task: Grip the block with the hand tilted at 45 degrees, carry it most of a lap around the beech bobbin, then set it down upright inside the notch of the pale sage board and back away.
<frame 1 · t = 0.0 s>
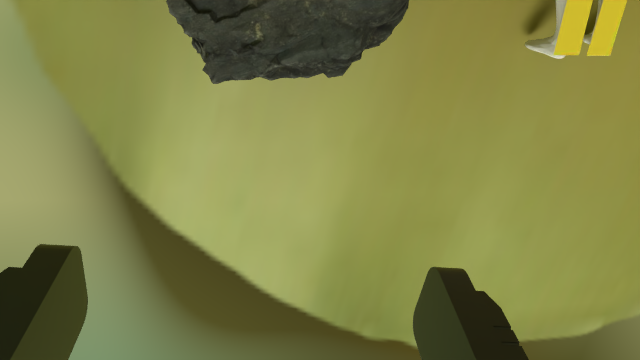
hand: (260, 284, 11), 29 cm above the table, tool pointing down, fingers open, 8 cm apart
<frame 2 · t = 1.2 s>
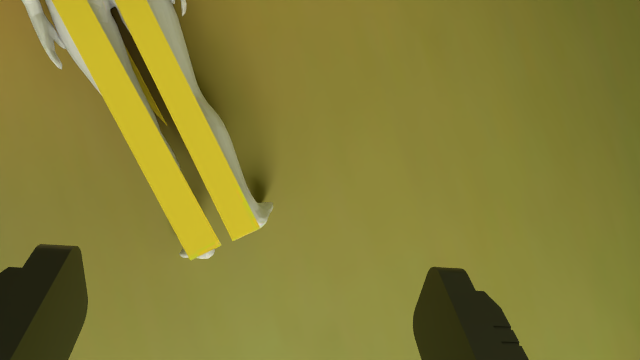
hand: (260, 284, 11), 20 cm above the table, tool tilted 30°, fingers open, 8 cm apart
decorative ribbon: (112, 11, 28), on the table
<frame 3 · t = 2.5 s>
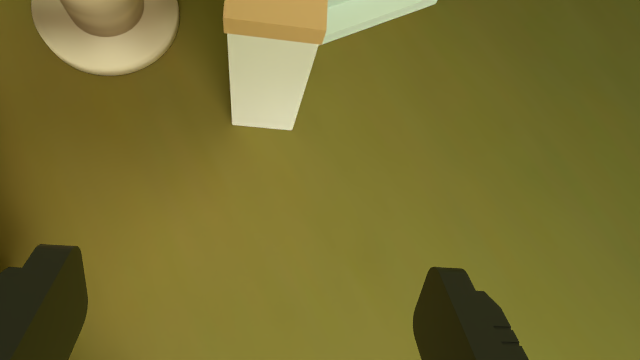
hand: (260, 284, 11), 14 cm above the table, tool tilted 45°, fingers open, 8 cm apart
bobbin: (111, 14, 27), on the table
block: (264, 99, 27), on the table
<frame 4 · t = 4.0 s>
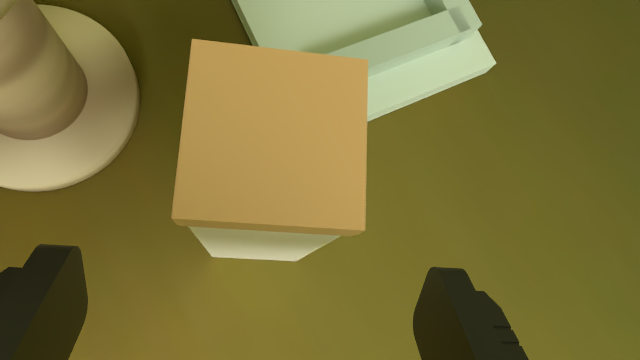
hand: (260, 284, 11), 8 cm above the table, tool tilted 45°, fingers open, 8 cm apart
bobbin: (43, 101, 19), on the table
block: (257, 218, 20), on the table
ridged board: (342, 0, 23), on the table
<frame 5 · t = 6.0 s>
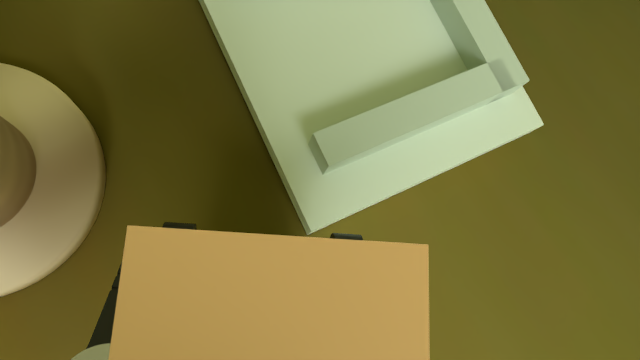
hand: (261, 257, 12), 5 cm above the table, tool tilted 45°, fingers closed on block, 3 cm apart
block: (251, 327, 16), on the table, touching gripper
ridged board: (356, 45, 19), on the table
when the fingers open (7 cm above the table, at t = 13.0 s): block drops 1 cm, resting on ridged board.
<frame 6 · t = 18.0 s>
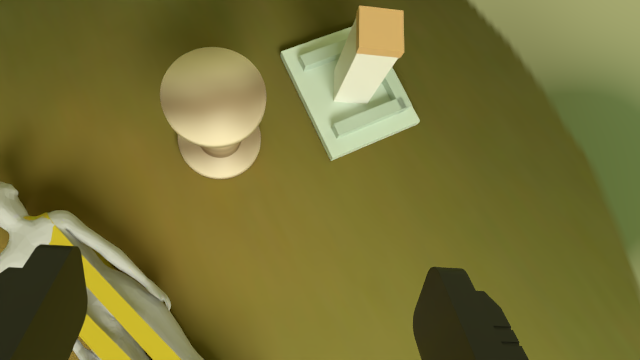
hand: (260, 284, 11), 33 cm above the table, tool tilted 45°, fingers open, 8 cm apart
bobbin: (220, 140, 45), on the table
block: (350, 87, 48), point 1 cm above the table, touching ridged board
ridged board: (348, 90, 49), on the table
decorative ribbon: (126, 317, 41), on the table
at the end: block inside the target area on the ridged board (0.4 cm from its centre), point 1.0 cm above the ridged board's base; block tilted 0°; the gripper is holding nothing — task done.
